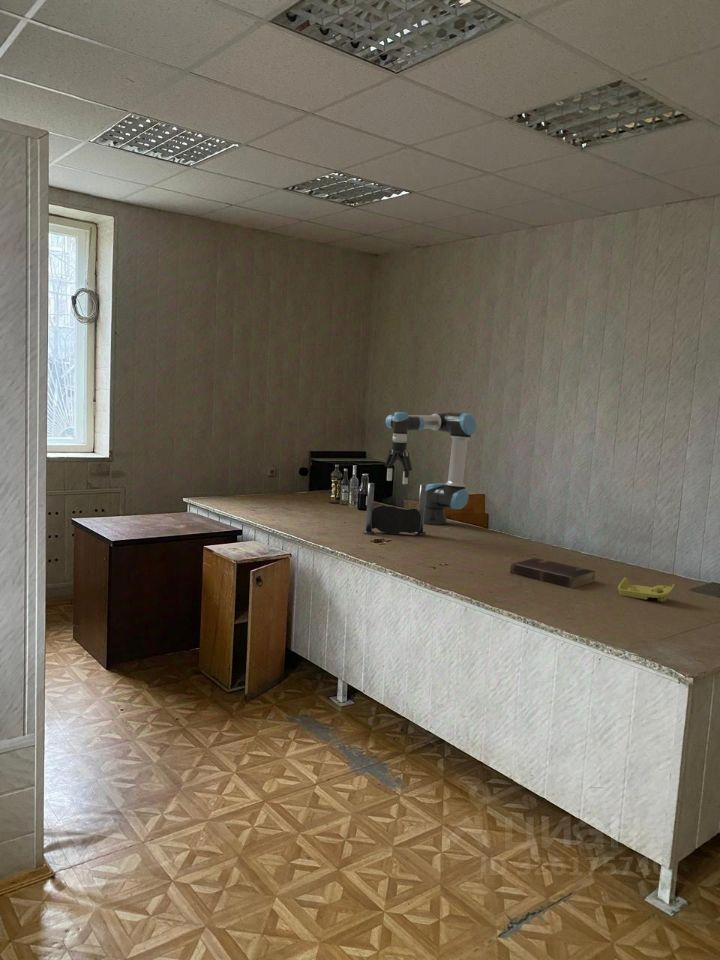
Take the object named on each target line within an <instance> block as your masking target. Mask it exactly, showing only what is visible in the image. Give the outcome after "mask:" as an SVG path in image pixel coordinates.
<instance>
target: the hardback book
mask: <svg viewBox="0 0 720 960" xmlns="http://www.w3.org/2000/svg"><path fill="white" fill-rule="evenodd" d="M509 572H510V574H511V573H512V574H511V575H515V574H516V576H519V577H524V578H527V579H531V580H536V581H539V582H543V583H544V582H545V583H548V584H552V585H556V586H559V587H564V588H569V589H574V588H577V587H581V586H585V585H588V584H591V583H595V576H596V571H595V570H592V569H587V568H582V567H577V566H575V565H574V566H573V565H568V564H564V563H561V562H560V563H559V562H555V561H551V560H546V559H542V558H537V557H534V558H529V559H525V560H522V561H521V560H520V561H518V562H513V563H511V564H510V571H509Z"/></svg>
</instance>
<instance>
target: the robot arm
mask: <svg viewBox="0 0 720 960" xmlns="http://www.w3.org/2000/svg"><path fill="white" fill-rule="evenodd" d="M385 426H386V427H387V428H388V429H392V442H391V443H392V444H391V445H392V446H391V448H392V449H389V451H388V455H387V458H386V460H385V463H384V467H386V481H388V482H390V481H391V482H392V480H393V467H394V465H395V463H396V461H399V462H400V463H401V466H402V468H403V473H402V485H407V484H408V483H409V482H408V481H409V476H410V475H409V474H410V472H411V471H413V469H412V464H411V460H410V453H409V452H408V451H406V450H407V441H408V431H415V432H418V431H422V430H424V429H425V430H427V429H428V430H432V431H438V432H443V433H444V432H445V433H449V437H450V438H451V441H452V442H451V449H450V458H449V466H448V467H449V468H448V478H447V482H445V483H427V484H426V494H425V510H424V524H426V525H433V526H434V525H435V526H441V525H442V526H443V525H447V523H448V519H447V515H446V511H445V508H449V509H452V510H461V509H463V508H464V507H465V506H466V505H467V504H468V502H469V498H470V497H469V493H468V490H466V485H465V483H464V477H465V468H466V467H465V465H466V459H467V458H466V457H467V450H468V449H467V447H468V441H469V440H470V439H471V436H472V435H474V433H475V432H476V430H477V421H476V419H475V417H474V416H473V415H472V414H469V413H466V412H464V413H461V412H440V413H432V414H430V415H429V414H427V415H426V414H425V415H424V414H423V415H420V414H418V415H417V414H409V412H404V411H402V412H401V411H396V412H394V414H389V415H388V416H386V418H385Z"/></svg>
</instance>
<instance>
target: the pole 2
mask: <svg viewBox="0 0 720 960" xmlns="http://www.w3.org/2000/svg"><path fill="white" fill-rule="evenodd" d="M426 486H427V484H420V485H419V494H418V508H417V509H418V510H419V511H420V513H421V516H422V519H421V528H420V530H419V532H414V534H417V535H416V536H418V535H425V536H426V535H427V534H426V532H425V531H424V526H425V525H424V524H425V523H424V510H425V494H426Z"/></svg>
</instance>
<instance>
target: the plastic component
mask: <svg viewBox="0 0 720 960" xmlns="http://www.w3.org/2000/svg"><path fill="white" fill-rule="evenodd" d="M675 585H676V584H675V583H673V584H672V585H671V586H667V585H662V584H661V585H655V586H653V587H652V586H651V587H650V586H644V585H637V584H630V583H629V580H628V577H623V578H622V580H621V581H620V583H619V585H618V586H617V588H618V593H619V595H620V596H622V595H623V597H627V596H628V598H634V599H641V600H648V599H649V598H652V599H653V598H654V599H655V598H656V601H658V602H661V603H663V602H666V600H667V596H669V595H670V594H671V592H672V590H673V588H674V587H675Z"/></svg>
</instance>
